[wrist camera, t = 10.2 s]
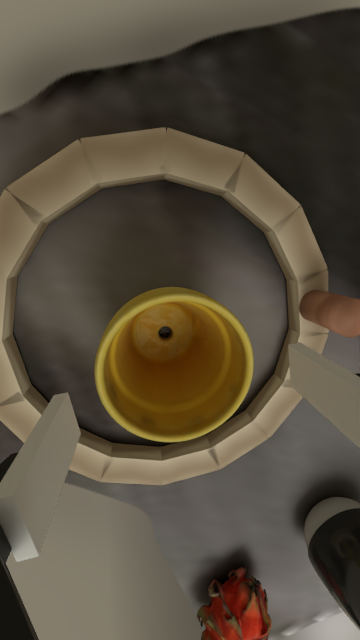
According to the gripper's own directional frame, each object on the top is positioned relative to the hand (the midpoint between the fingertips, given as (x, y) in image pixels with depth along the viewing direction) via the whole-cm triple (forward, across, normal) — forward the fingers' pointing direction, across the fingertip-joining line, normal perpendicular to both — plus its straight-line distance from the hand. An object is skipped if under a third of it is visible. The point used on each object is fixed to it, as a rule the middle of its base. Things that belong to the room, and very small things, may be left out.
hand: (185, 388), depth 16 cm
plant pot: (+11, 0, 0) cm, 11 cm away
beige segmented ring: (+11, +1, 0) cm, 11 cm away
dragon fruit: (+12, -1, +37) cm, 39 cm away
